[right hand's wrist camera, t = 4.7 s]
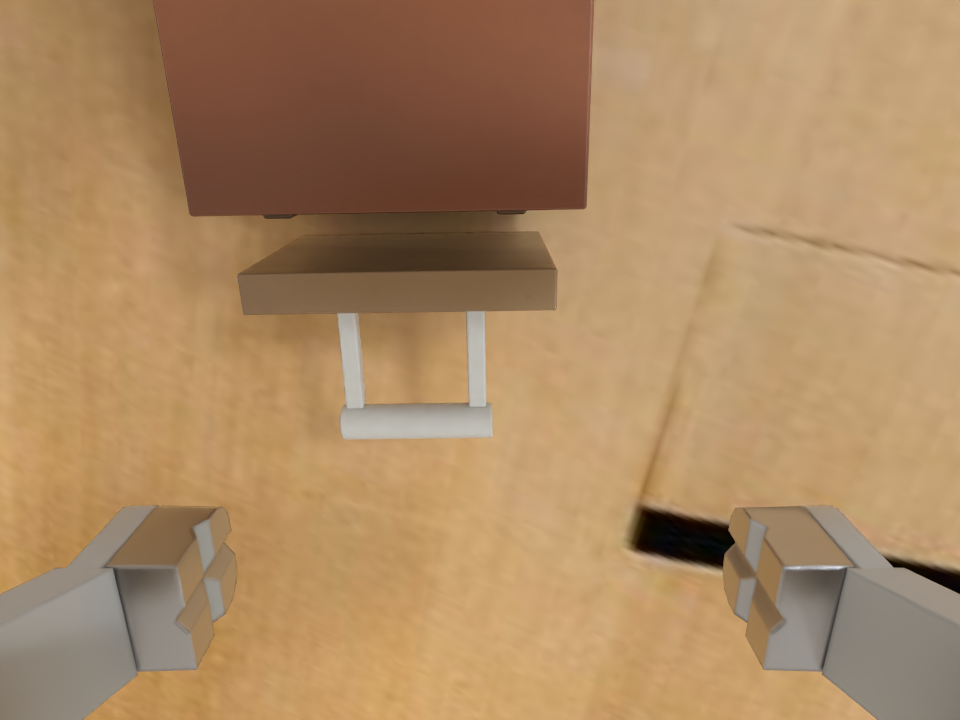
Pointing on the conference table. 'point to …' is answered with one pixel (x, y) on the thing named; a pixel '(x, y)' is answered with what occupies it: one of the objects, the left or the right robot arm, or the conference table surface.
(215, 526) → the right robot arm
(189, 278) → the conference table surface
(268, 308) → the drawer
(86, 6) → the conference table surface
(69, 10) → the conference table surface
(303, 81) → the cabinet
